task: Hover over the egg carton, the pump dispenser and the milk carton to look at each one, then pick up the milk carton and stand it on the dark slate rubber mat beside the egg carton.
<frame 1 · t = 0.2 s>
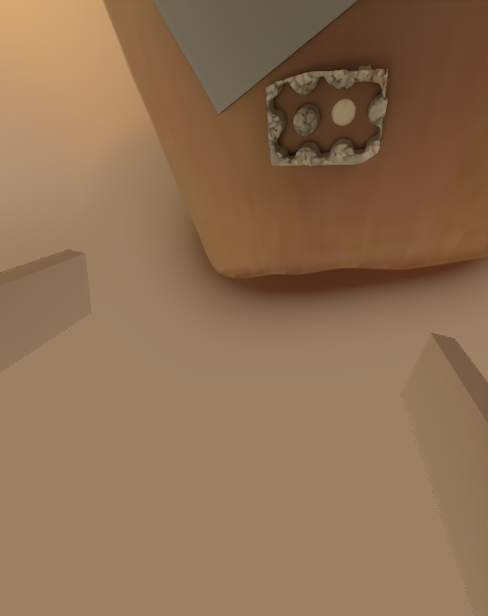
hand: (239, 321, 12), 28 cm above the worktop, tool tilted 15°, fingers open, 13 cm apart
egg carton: (326, 116, 30), on the worktop
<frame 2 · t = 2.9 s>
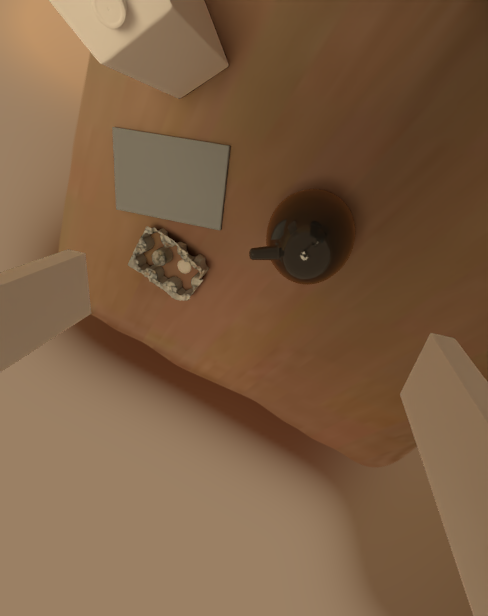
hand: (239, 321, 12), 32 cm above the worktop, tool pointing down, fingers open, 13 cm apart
egg carton: (175, 260, 47), on the worktop
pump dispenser: (310, 227, 40), on the worktop
milk carton: (190, 50, 35), on the worktop
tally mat: (169, 180, 42), on the worktop
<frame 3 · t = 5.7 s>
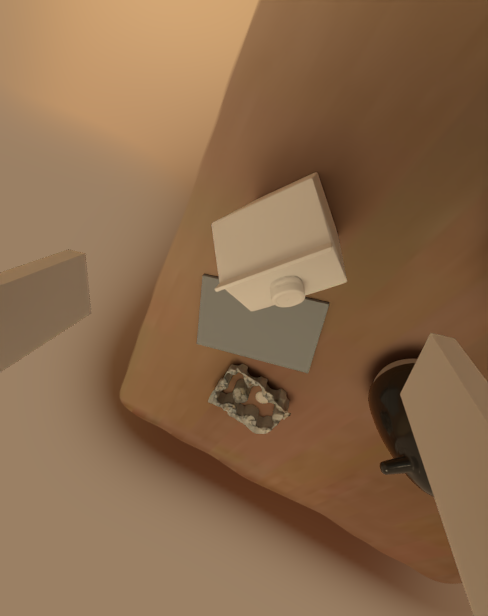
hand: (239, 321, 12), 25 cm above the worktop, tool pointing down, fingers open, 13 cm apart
egg carton: (253, 390, 46), on the worktop
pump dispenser: (406, 378, 39), on the worktop
milk carton: (296, 217, 34), on the worktop
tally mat: (257, 323, 40), on the worktop
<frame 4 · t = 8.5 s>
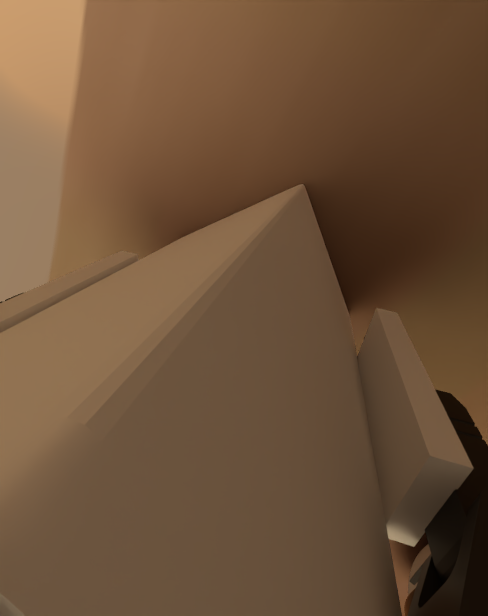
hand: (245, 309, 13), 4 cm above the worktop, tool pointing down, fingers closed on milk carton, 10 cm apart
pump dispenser: (469, 552, 22), on the worktop
milk carton: (263, 275, 16), on the worktop, touching gripper
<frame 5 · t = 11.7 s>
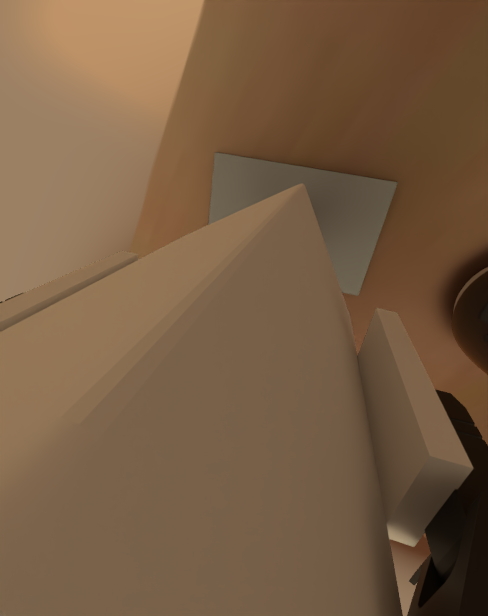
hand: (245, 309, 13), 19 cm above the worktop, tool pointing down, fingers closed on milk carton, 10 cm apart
milk carton: (263, 275, 16), point 15 cm above the worktop, touching gripper
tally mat: (290, 225, 29), on the worktop
when the fingers open (6 cm above the worktop, at t = 14.9 s): milk carton drops 1 cm, resting on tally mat.
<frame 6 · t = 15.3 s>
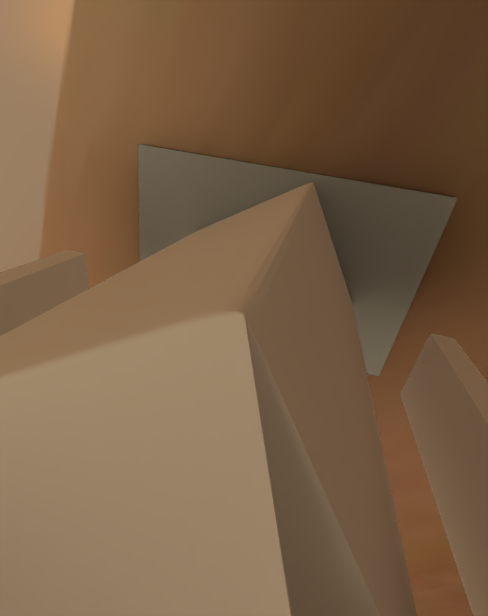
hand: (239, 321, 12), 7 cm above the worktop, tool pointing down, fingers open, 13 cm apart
milk carton: (272, 267, 18), resting on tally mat
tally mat: (268, 265, 18), on the worktop
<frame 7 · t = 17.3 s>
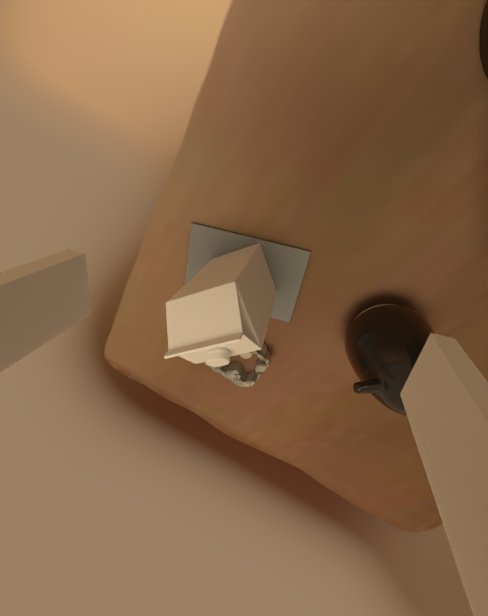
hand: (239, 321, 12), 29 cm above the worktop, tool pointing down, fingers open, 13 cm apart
egg carton: (236, 346, 48), on the worktop
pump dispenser: (379, 326, 42), on the worktop
milk carton: (244, 274, 42), resting on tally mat
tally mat: (243, 273, 42), on the worktop
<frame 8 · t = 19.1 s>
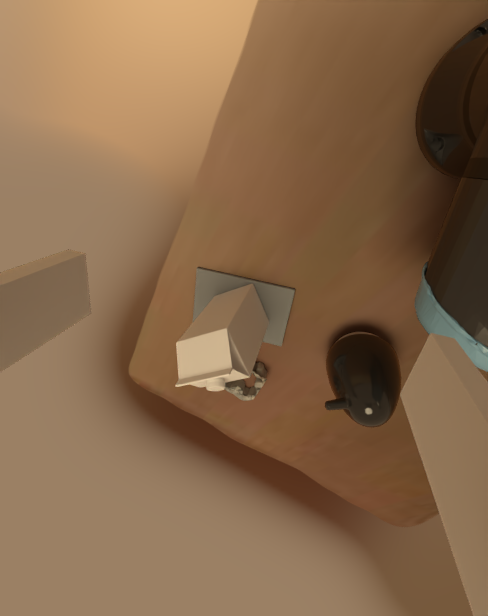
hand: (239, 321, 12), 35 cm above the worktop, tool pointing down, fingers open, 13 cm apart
egg carton: (238, 366, 57), on the worktop
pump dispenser: (357, 349, 49), on the worktop
milk carton: (242, 307, 50), resting on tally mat
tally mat: (241, 306, 51), on the worktop
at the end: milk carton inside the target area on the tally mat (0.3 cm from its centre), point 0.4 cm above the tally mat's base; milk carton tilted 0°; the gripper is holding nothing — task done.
